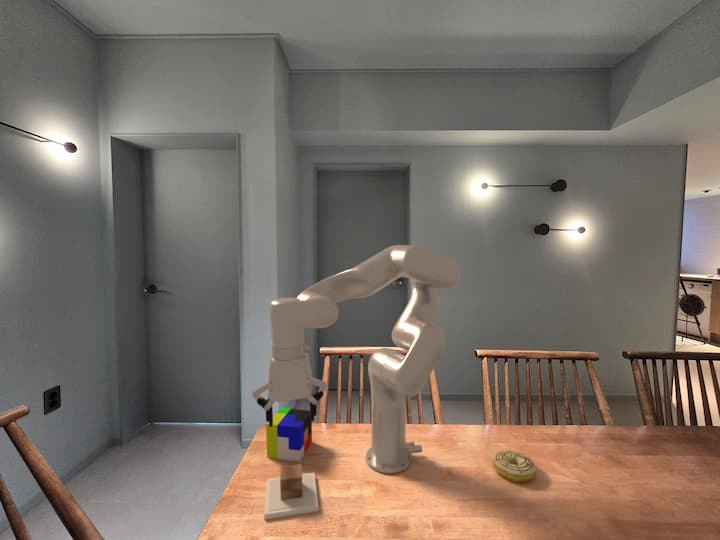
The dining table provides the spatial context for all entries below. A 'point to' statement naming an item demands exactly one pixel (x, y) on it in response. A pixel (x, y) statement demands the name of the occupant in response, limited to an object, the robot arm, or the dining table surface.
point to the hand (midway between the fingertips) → (292, 421)
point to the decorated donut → (514, 466)
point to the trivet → (290, 506)
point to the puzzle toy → (289, 434)
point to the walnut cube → (291, 482)
